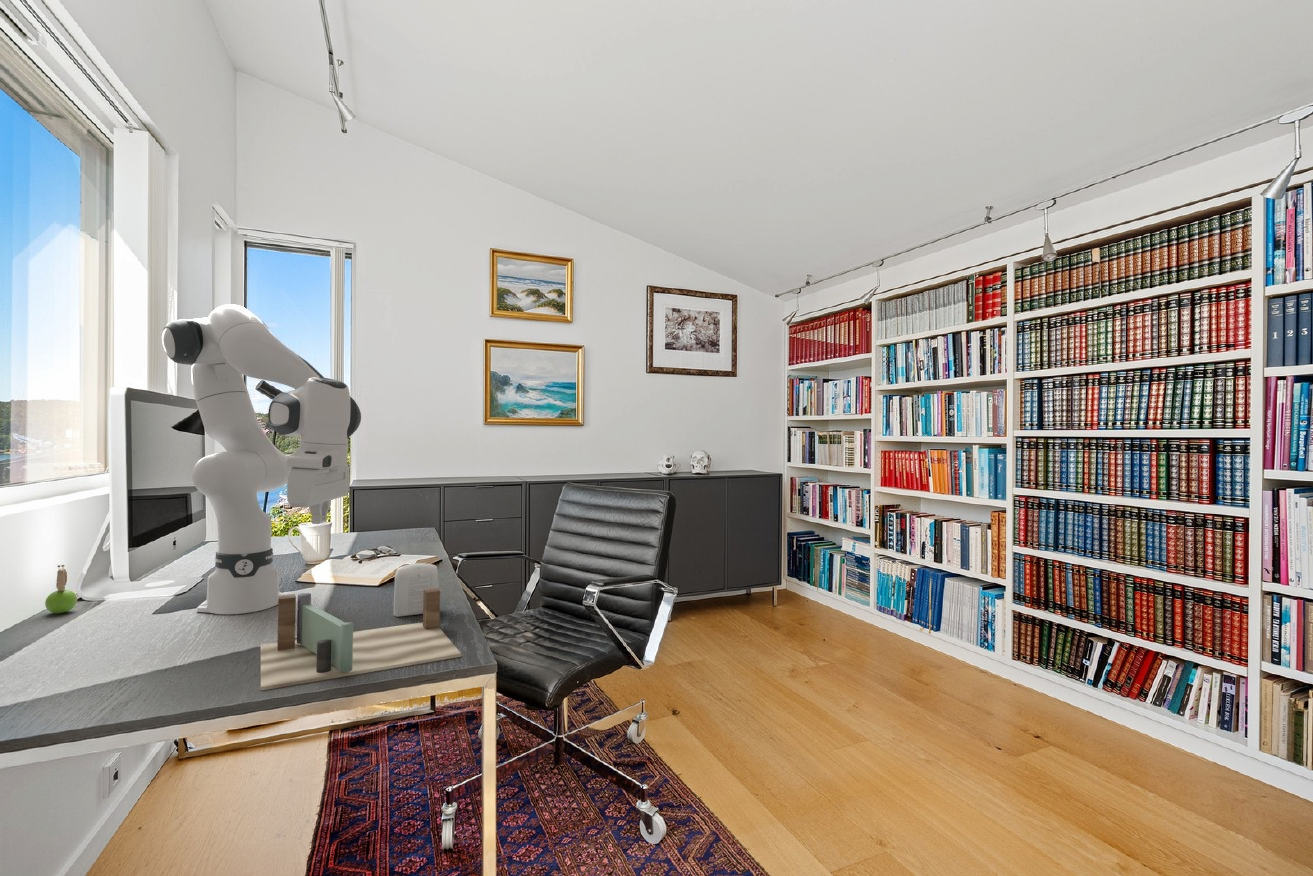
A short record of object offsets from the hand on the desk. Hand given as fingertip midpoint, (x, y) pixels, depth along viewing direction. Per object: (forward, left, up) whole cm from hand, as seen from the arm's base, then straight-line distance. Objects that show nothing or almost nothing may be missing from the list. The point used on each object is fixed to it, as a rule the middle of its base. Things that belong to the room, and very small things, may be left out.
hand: (318, 522), depth 129 cm
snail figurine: (-51, -49, -26) cm, 76 cm away
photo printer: (-15, +23, -26) cm, 38 cm away
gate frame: (+7, +7, -26) cm, 28 cm away
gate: (+9, +1, -25) cm, 26 cm away
